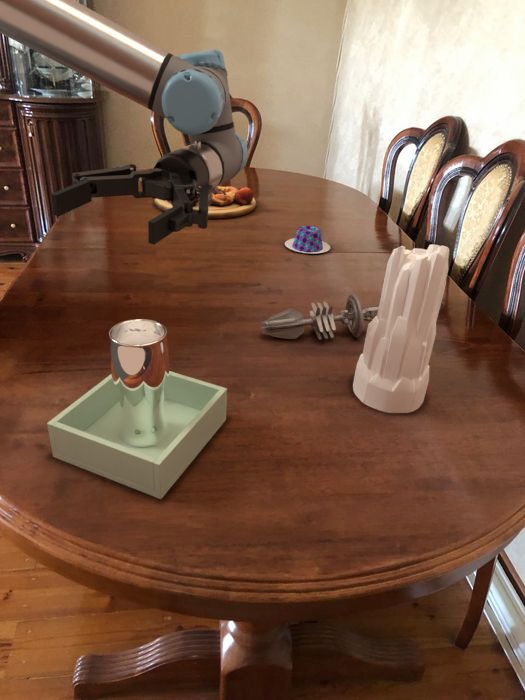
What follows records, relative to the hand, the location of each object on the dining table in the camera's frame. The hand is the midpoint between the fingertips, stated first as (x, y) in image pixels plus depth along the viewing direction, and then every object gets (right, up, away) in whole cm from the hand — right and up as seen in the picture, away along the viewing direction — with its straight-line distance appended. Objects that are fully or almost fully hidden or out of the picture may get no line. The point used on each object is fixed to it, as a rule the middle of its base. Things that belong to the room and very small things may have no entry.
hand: (101, 219), depth 63 cm
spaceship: (+36, -13, +35) cm, 52 cm away
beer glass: (+4, -27, +6) cm, 28 cm away
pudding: (+31, +11, +75) cm, 82 cm away
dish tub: (+4, -27, +6) cm, 28 cm away
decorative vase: (+39, -23, +19) cm, 49 cm away
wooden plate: (+1, +30, +104) cm, 108 cm away
